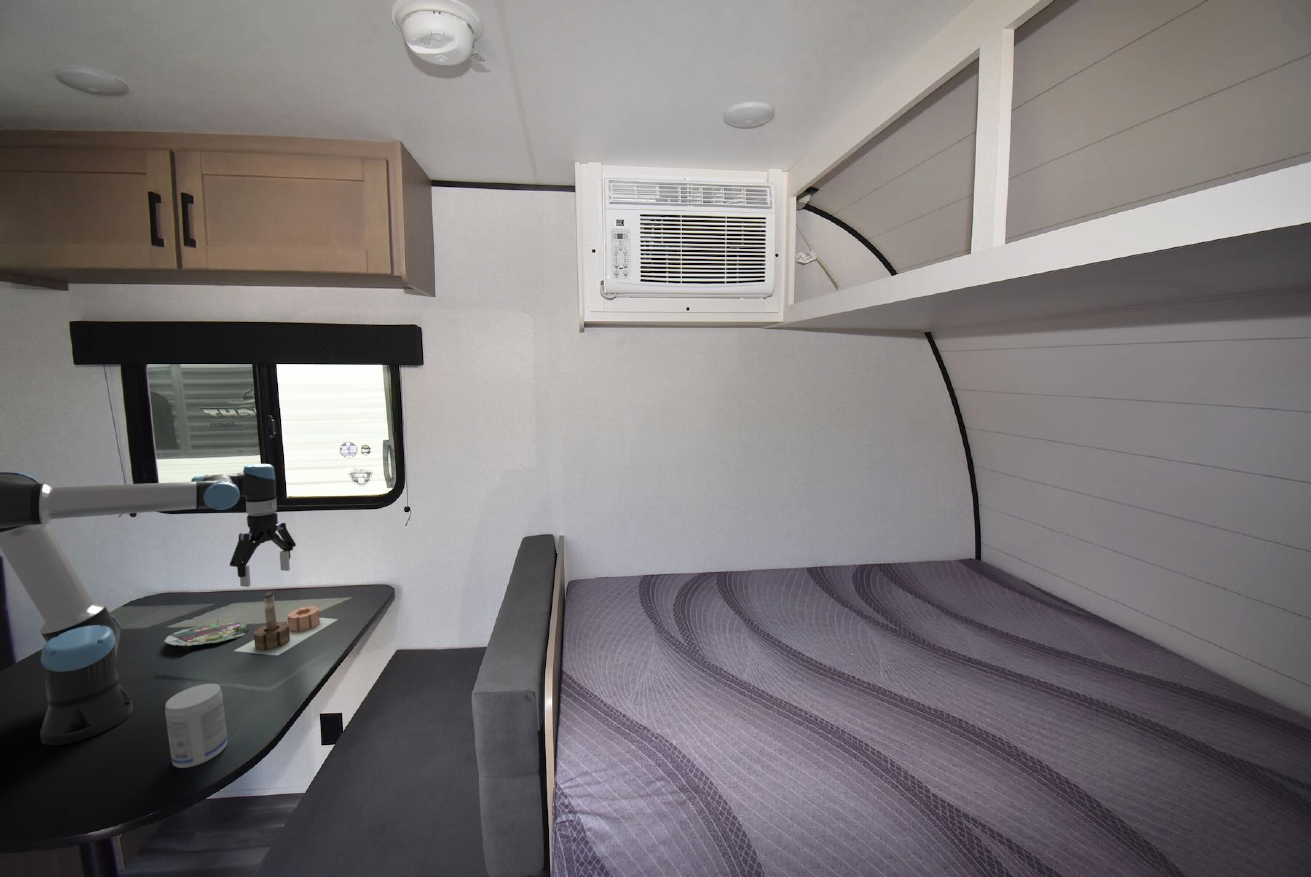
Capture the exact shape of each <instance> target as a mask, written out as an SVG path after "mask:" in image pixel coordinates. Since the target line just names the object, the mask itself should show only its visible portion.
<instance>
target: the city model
mask: <svg viewBox="0 0 1311 877" xmlns="http://www.w3.org/2000/svg"><path fill="white" fill-rule="evenodd" d="M219 620H220V619H217V620H216V623H209V624H204V625H199V626H195V627H190V628H186V629H180V631H175V632H174V633H172V634H170V635H168V636H166V637H165V639H164V640H163V642H164V643H166V644H169V645H172V646H177V645H178V646H180V649H181V650H183V649H185V651H188V650H189V649H193V648H194V646H196V645H204V644H211V643H212V644H215V643H220V642H224V641H228V640H232V639H237V638H238V637H242V636H244V635H245V634H247V632H249V630H250V628H246V627H247V626H248V625H251V624H250V623H246V624H245V623H241V622H240V623H239V622H230V623H228V621H227V622H225V621H224V622H221V621H219ZM242 630H243V631H242ZM187 649H188V650H187Z"/></svg>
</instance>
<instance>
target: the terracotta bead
mask: <svg viewBox="0 0 1311 877" xmlns="http://www.w3.org/2000/svg"><path fill="white" fill-rule="evenodd" d="M319 618H320V608H319V607H318V606H314V605H310V606H302V607H299V608H295V609H294V610H292V611H289V612H288V613H287V622H288V623H289V631H291V632H298V631H300V632H301V631H305V630H309V628H314V627H316V626H317V625H319V624H320V619H319Z"/></svg>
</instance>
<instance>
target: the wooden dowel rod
mask: <svg viewBox="0 0 1311 877" xmlns="http://www.w3.org/2000/svg"><path fill="white" fill-rule="evenodd" d="M263 602H264V615H265V624H266V625H265V626H266V627H267V632H270V631H275V630H277V623H278V622H277V616H276V604H275V603H276V602H275V595H274V594H273V592H267V593H265V594H264V595H263ZM276 622H277V623H276Z"/></svg>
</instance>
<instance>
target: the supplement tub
mask: <svg viewBox="0 0 1311 877" xmlns="http://www.w3.org/2000/svg"><path fill="white" fill-rule="evenodd" d="M164 707H165V709H164V713H165V721H166V730H167V736H168V744H169V751H170V758H171V763H172V765H173V766H174V767H176V768H178V769H187V768H191V767H196V766H198V765H201V764H204V763H206V762H208V761H210V760H211V759H213V758H215V757H217V756H218V755H220V753H221V752H222V751H223V750H224V749H225V748H226V747H227V744H228V731H227V725H226V716H225V708H224V699H223V693H222V690H221V686H220V685H219V684H217V683H204V684H198V685H195V686H191V687H188V688H185V689H184V690H181V691H179V692H178V693H176V694H174V695H173V696H171V697H169V699H168V700H167V701H166V702H165V705H164Z"/></svg>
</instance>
